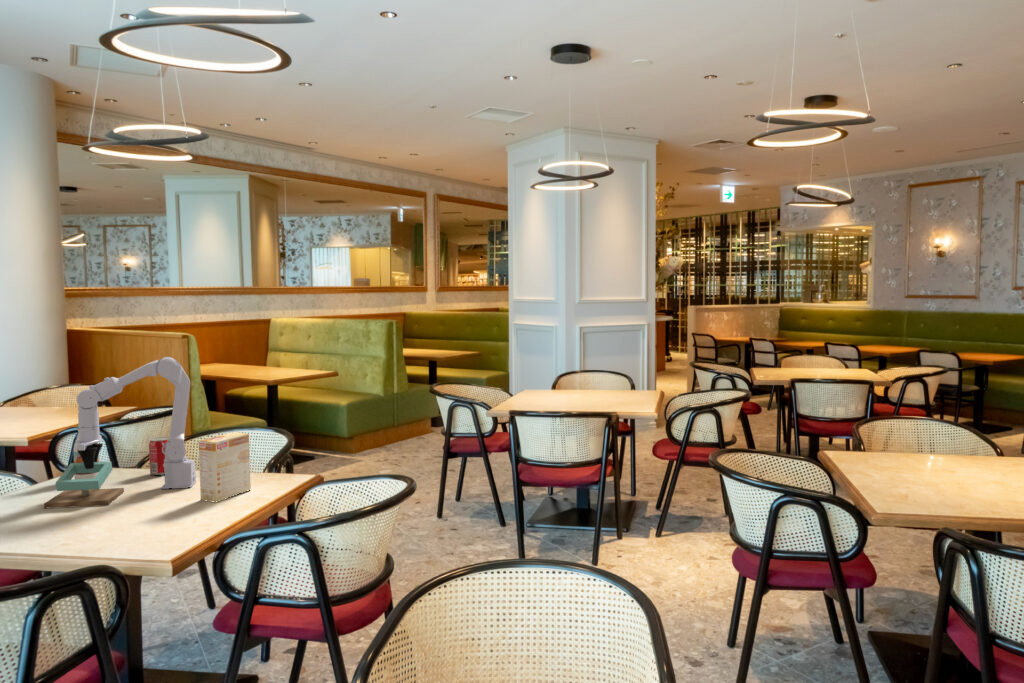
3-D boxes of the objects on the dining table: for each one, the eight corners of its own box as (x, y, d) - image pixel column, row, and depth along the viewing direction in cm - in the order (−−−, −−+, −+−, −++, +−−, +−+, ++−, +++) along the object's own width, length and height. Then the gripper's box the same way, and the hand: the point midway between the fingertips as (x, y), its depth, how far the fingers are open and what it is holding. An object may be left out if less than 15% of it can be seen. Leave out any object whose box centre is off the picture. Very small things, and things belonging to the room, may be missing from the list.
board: (123, 492, 232) (123, 476, 232) (108, 505, 219) (107, 487, 218) (64, 495, 229) (63, 478, 228) (44, 508, 215) (43, 490, 215)
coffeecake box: (235, 488, 237) (234, 431, 236) (251, 490, 234) (250, 433, 233) (199, 500, 224) (197, 440, 222) (215, 503, 221) (213, 442, 219)
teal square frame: (112, 469, 231) (111, 461, 230) (99, 489, 220) (97, 480, 219) (72, 471, 228) (70, 463, 227) (57, 491, 217) (55, 482, 216)
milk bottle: (71, 480, 247) (69, 424, 246) (96, 475, 253) (93, 421, 251) (78, 484, 242) (75, 427, 241) (103, 479, 248) (100, 423, 246)
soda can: (165, 476, 252) (164, 440, 251) (146, 476, 252) (144, 440, 251) (175, 471, 259) (174, 436, 258) (156, 471, 259) (155, 436, 258)
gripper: (84, 422, 233) (86, 462, 234) (65, 431, 219) (67, 473, 220) (107, 421, 235) (109, 461, 236) (90, 430, 221) (92, 472, 222)
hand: (90, 467), depth 228 cm, fingers closed on teal square frame, 2 cm apart
